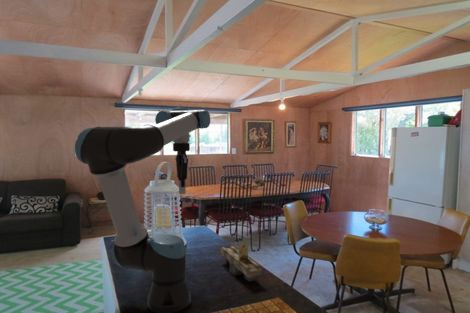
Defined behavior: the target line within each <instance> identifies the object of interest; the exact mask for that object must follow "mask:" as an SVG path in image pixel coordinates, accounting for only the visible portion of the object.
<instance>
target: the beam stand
mask: <svg viewBox="0 0 470 313" xmlns="http://www.w3.org/2000/svg"><path fill="white" fill-rule="evenodd" d="M219 253H220V255H222V256H223V258H225V263H226V264H228V265H229V273H231V274H232V275H233V276H240V275H244V277H243V278H244V279H245V280H246V281H247V282H254V281H258V280H259V275H262V268H261V267H260V266H261V265H260V264H259V263H257V262H255V261H254V260H253V259H252V258H250V257H249V256H248V259H247V262H242V261H241V260H240V259H239V258H238V248H237V247H235V246H234V245H230V247H224V246H222V247H221V248H220V250H219Z"/></svg>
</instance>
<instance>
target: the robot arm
mask: <svg viewBox="0 0 470 313" xmlns="http://www.w3.org/2000/svg"><path fill="white" fill-rule="evenodd" d="M154 122H155V124H150V123H149V124H144V125H138V126H95V127H88V128H87V127H86V129H82V131H81V132H80V133H79V134H78V135H77V139H76V140H75V143H74V153H75V156H76V158H77V160H78V161H79V162H80V163H83V164H85V165H87V166H88V168H89V172H90V174H92V175H93V176H95V177H97V179H98V184H99V186H100V188H101V191H102V195H103V197H104V200H105V203H106V206H107V210H108V212H109V215H110V218H111V221H112V224H113V226H114V230H115V234H116V236H115V237H114V241H113V243H112V245H111V248H112V250H111V251H110V253H111V258H112V260H113V262H114V263H115V265H116V266H118V267H120V268H124V269H127V270H133V271H141V272H147V273H151V286H150V289H149V294H148V296H147V301H146V302H147V308H148V310H150V311H151V312H153V313H177V312H180V311H182V310H185V309H186V308H187V307H189V305H190V304H191V301H192V300H191V299H192V296H191V291H190V289H189V285H188V283H187V279H186V278H187V277H186V253H187V251H186V246H185V241H184V239H183V238H182V237H180V236H178V235H175V234H172V233H165V234H164V233H159V234H156V235H153V236H152V237H150V235H149V233H148V232H149V231H148V230H147V228H146V227H145V226H142V223H141V221H140V218H139V214H138V212H137V207H136V204H135V200H134V198H133V194H132V190H131V187H130V184H129V183H130V182H129V181H128V178H127V174H126V170H125V168H126V166H128V165H130V164H133V163H137V162H141V161H143V160H144V159H147V158H149V157H151V156H153V155H155V154H157V153H159V152H161V151H162V150H163V148H164V147H165V146H166V145H167V144H169V143H172V142H173V143H172V151H173V152H177V153H176V156H175V157H174V158H175V164H176V165H175V166H176V176H177V179H178V180H177V181H178V195H186V192H187V191H186V180H187V179H188V164H189V158H188V155H187V152H190V150H191V147H190V146H191V143H190V138H191V135H190V133H191V132H193V131H196V130H198V129H207V128H209V127H210V124H211V114H210V113H209V111H208V110H206V109H195V110H194V109H193V110H191V109H190V110H189V109H188V108H187V107H174V108H172V109H171V110H160V111H158V112H157V113H156V115H155V120H154Z"/></svg>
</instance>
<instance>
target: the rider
mask: <svg viewBox="0 0 470 313" xmlns="http://www.w3.org/2000/svg"><path fill="white" fill-rule="evenodd" d="M237 249H238V258H239V259H240V260H241V261H242V262H247V259H248V257H249V246H248V245H247V244H246V243H241V244H240V245H238V248H237Z"/></svg>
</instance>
